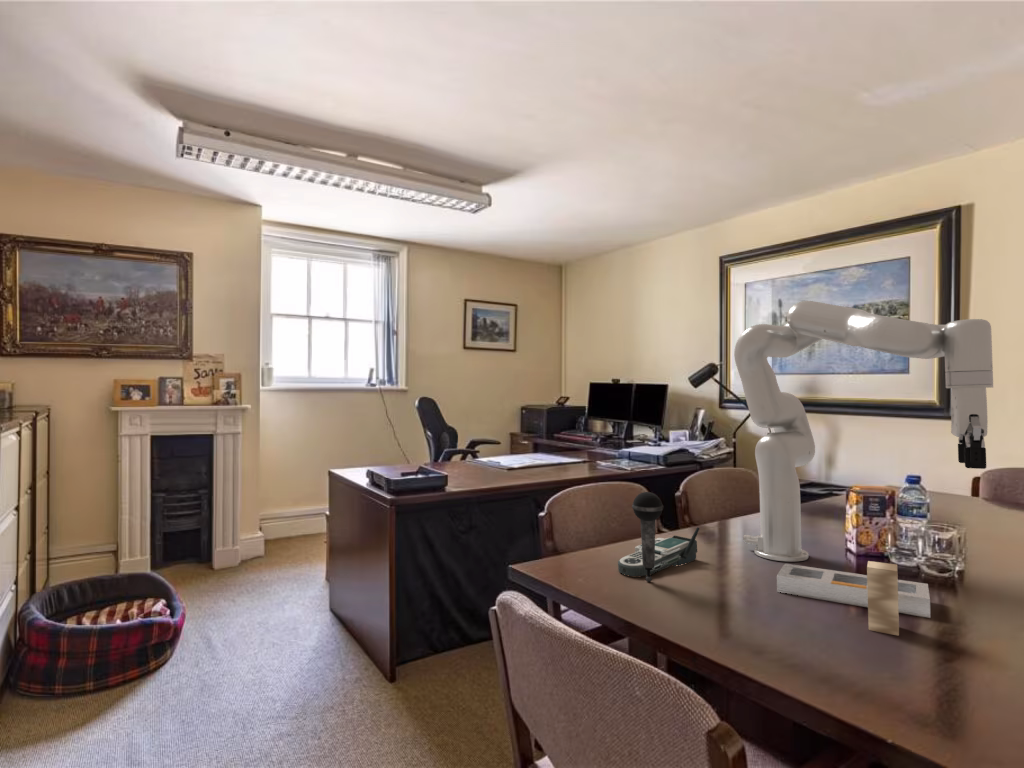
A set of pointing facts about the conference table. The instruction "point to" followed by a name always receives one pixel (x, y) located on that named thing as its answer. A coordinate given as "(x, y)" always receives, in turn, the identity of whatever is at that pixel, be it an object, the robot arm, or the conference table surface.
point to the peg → (883, 597)
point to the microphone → (648, 526)
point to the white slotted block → (848, 588)
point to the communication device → (661, 555)
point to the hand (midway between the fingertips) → (971, 465)
